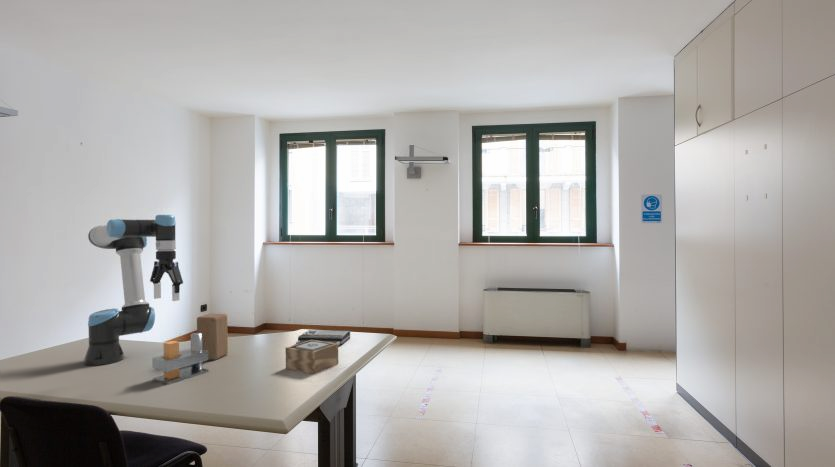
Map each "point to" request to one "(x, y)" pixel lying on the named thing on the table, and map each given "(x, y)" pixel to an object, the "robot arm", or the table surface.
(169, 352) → the orange square bar
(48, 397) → the table surface
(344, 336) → the radio
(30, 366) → the table surface
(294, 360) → the box
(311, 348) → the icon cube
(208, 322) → the wooden block
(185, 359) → the grey slotted stand
